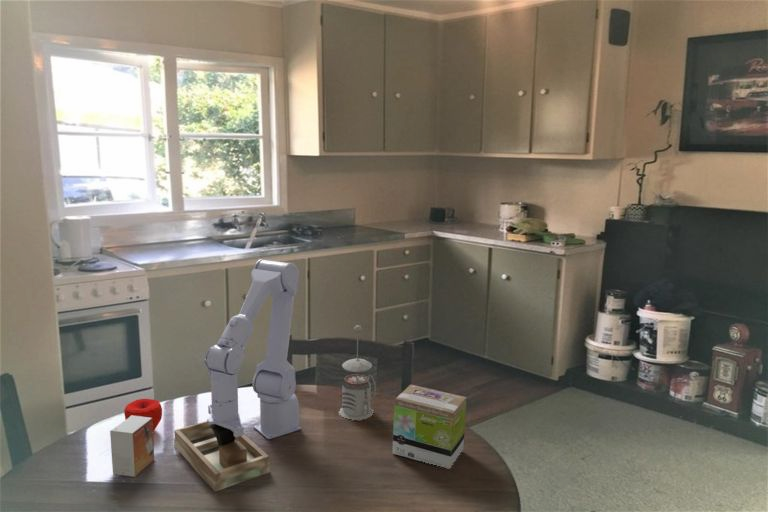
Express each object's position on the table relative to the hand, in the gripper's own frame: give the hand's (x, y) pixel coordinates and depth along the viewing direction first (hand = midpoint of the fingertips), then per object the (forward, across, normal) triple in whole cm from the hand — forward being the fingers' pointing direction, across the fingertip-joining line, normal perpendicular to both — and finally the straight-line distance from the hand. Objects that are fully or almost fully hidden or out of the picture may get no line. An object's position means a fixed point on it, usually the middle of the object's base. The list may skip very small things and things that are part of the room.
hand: (226, 453), depth 139 cm
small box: (+3, -11, -17) cm, 21 cm away
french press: (+3, -4, +40) cm, 40 cm away
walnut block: (+1, +4, 0) cm, 4 cm away
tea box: (+3, +23, +41) cm, 47 cm away
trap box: (+3, -4, 0) cm, 5 cm away
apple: (+3, -26, -10) cm, 28 cm away
